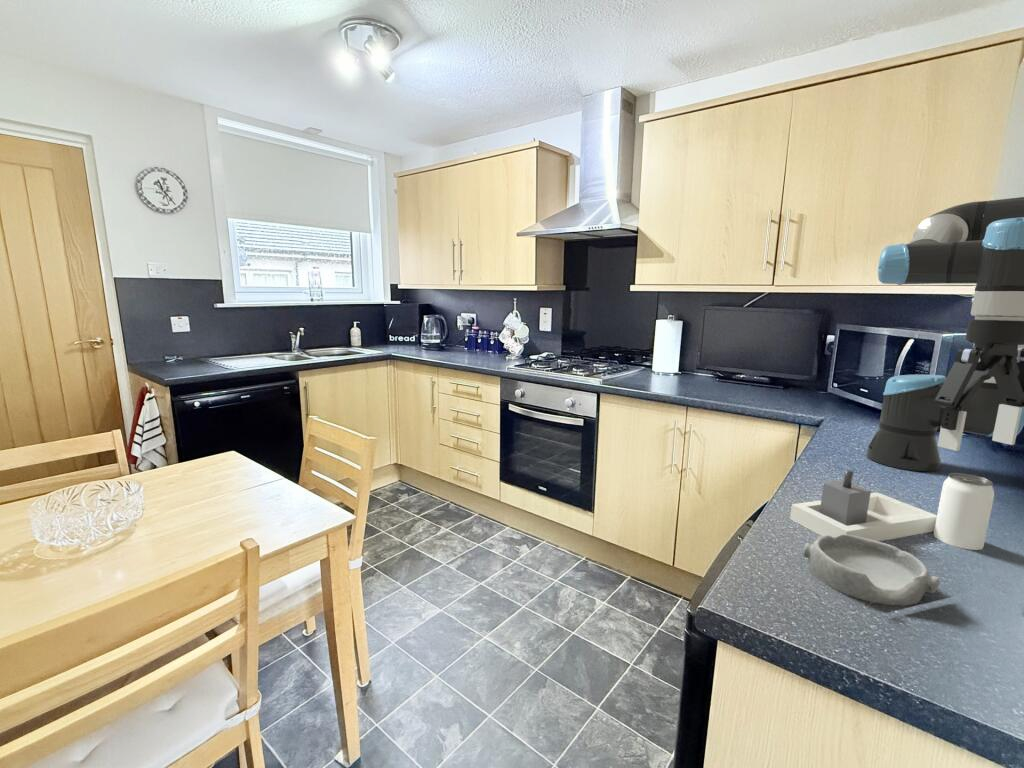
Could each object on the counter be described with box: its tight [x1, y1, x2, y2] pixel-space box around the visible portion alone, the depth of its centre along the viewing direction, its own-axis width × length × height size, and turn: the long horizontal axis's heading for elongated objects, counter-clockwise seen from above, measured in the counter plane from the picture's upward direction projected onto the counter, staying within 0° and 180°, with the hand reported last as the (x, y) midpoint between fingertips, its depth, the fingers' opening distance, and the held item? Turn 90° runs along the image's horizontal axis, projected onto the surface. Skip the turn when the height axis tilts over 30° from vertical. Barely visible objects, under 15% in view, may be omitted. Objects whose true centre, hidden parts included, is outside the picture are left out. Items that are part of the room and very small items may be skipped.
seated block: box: [820, 469, 872, 526], centre depth 87 cm, size 5×5×11 cm
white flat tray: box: [789, 491, 937, 542], centre depth 89 cm, size 22×11×4 cm, turn 107°
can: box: [933, 472, 995, 551], centre depth 83 cm, size 6×6×12 cm
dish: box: [802, 534, 940, 606], centre depth 72 cm, size 14×14×5 cm
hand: (976, 445), depth 80 cm, fingers open, 13 cm apart
